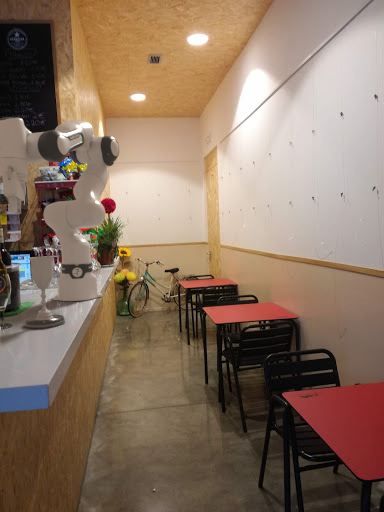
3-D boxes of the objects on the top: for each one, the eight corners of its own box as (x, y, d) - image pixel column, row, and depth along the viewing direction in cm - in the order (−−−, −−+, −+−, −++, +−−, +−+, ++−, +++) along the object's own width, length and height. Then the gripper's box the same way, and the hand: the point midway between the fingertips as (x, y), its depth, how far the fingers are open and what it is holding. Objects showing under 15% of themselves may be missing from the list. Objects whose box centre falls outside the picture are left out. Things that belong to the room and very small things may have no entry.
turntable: (26, 321, 115) (26, 316, 115) (65, 318, 118) (64, 312, 118) (22, 330, 105) (22, 324, 104) (64, 326, 108) (64, 320, 108)
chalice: (62, 316, 113) (59, 256, 112) (44, 322, 107) (41, 258, 106) (44, 315, 116) (41, 256, 115) (26, 320, 110) (22, 258, 109)
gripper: (19, 164, 111) (22, 211, 112) (27, 174, 130) (29, 214, 131) (-5, 163, 109) (-1, 212, 110) (7, 173, 129) (9, 214, 130)
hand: (15, 213), depth 121 cm, fingers open, 8 cm apart
